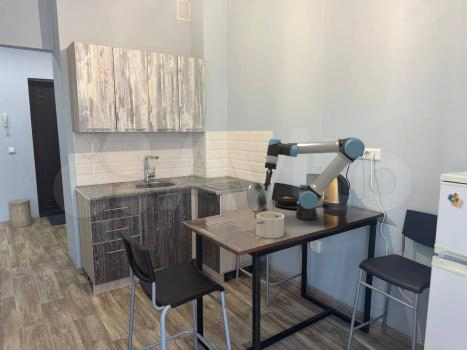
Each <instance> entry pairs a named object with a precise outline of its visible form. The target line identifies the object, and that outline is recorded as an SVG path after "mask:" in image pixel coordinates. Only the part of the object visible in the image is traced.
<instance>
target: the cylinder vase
mask: <svg viewBox="0 0 467 350" xmlns="http://www.w3.org/2000/svg"><path fill="white" fill-rule="evenodd" d="M320 174H321V173H307V174H305V175H306V176H305V179H306V180H305V185H308V184H312V183H313V182H314V181H315V180H316V179H317V178H318V177H319V176H320ZM322 199H323V197H322V198H321V199H320V200H319V201H318V203H317V205H316V207H317V208H319V207H318V206H321V207H322V202H323V201H322Z"/></svg>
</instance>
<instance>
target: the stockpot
mask: <svg viewBox="0 0 467 350" xmlns="http://www.w3.org/2000/svg"><path fill="white" fill-rule="evenodd" d="M254 219H255V220H256V221H255V235H257V236H258V237H260V238H265V239H278V238H279V239H280V238H281V237H283V236H285V235H284V234H285V214H282V212H281V213H279V212H275V211H262V212H259V213H256V214H255V213H254Z"/></svg>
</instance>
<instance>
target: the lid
mask: <svg viewBox="0 0 467 350" xmlns="http://www.w3.org/2000/svg"><path fill="white" fill-rule="evenodd" d="M263 188H264V187H263V186H262V185H261V184H259V183H257V182H255V183H251V184H249V186H248V187H247V190H246V195H245V196H246V203H247V205H248V208H249V209H250V210H251V211H252V212H254V215H255V214H256V213H259V212H264V211H263V210H262V209H263V208H264V206H265V201H266V197H265V192H264V190H263Z"/></svg>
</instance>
